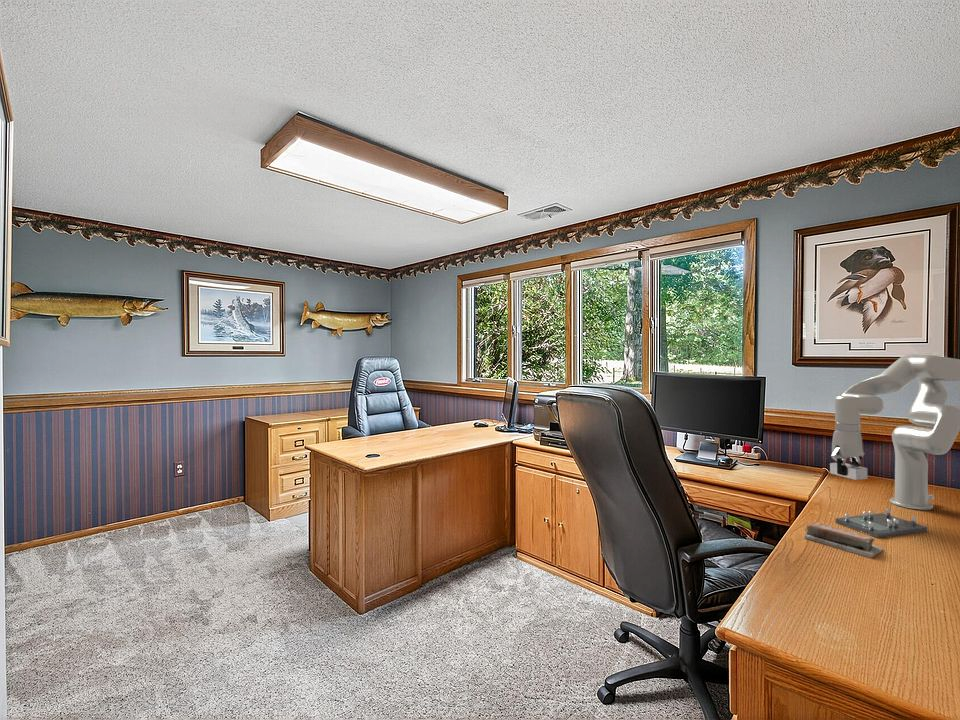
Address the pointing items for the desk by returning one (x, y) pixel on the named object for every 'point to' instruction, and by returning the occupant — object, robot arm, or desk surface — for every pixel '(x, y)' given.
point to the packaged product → (842, 539)
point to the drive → (851, 471)
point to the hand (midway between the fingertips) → (848, 473)
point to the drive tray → (881, 524)
